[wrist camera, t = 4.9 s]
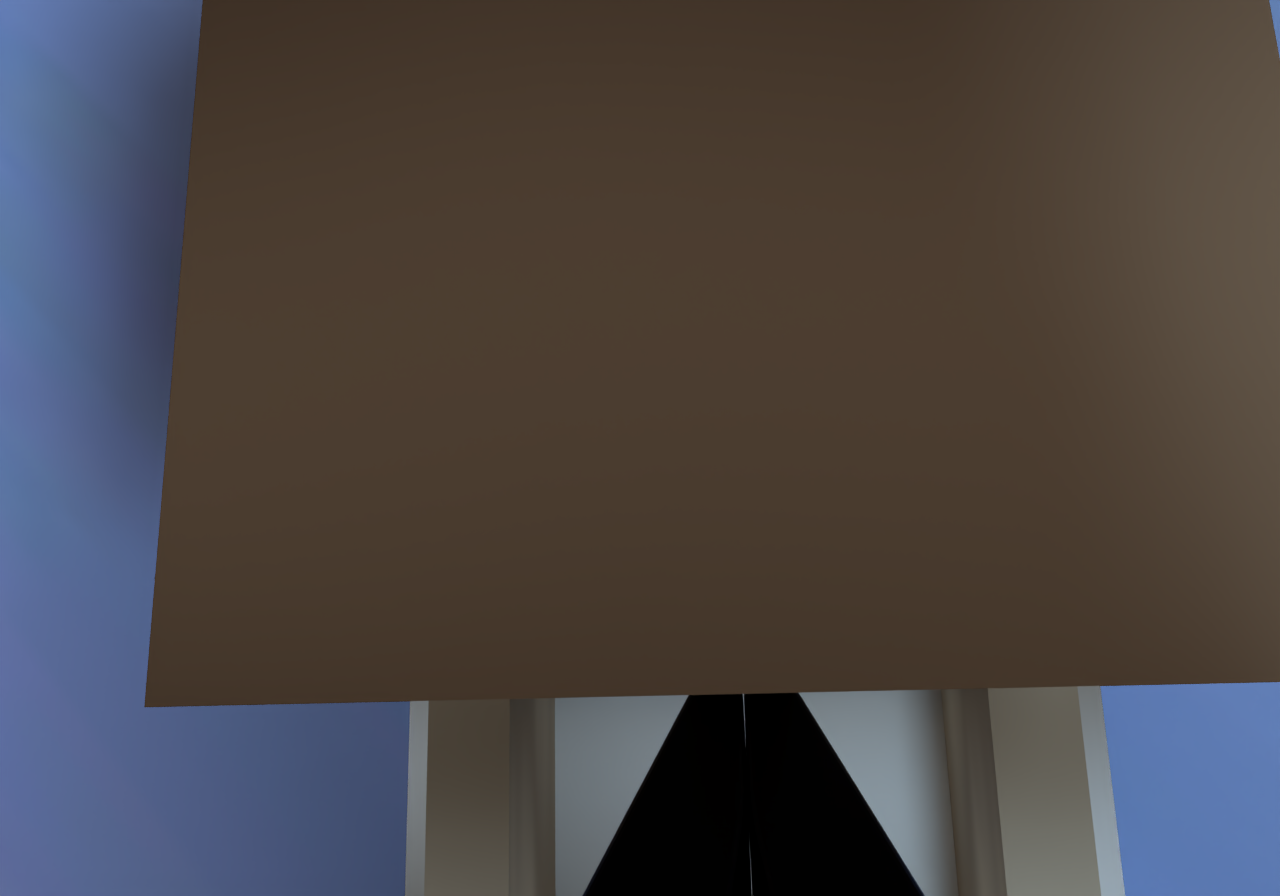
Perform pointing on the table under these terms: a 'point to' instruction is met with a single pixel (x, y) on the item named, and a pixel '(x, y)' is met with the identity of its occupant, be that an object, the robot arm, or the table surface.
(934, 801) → the chute
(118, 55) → the table surface
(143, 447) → the table surface
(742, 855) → the robot arm
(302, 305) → the block
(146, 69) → the table surface
